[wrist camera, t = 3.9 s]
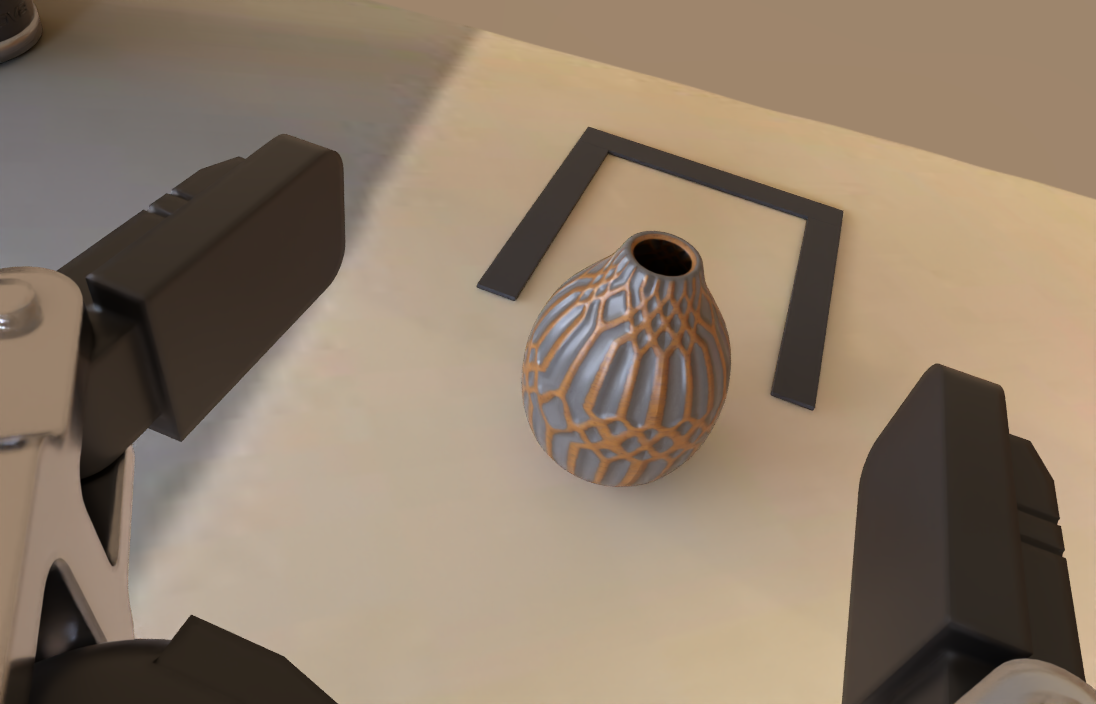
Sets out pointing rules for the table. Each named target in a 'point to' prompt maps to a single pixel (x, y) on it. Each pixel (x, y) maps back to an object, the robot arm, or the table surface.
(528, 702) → the table surface
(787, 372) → the tape u shape
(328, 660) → the table surface
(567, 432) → the vase
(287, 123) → the table surface
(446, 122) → the table surface
